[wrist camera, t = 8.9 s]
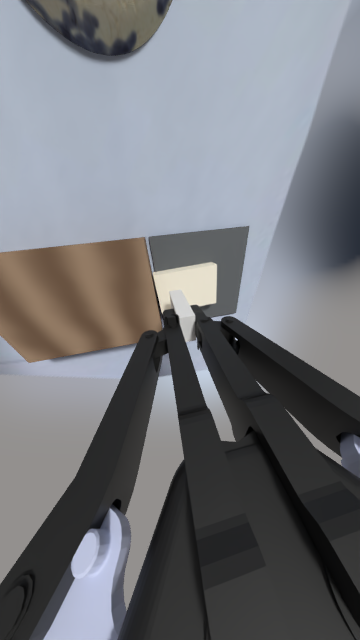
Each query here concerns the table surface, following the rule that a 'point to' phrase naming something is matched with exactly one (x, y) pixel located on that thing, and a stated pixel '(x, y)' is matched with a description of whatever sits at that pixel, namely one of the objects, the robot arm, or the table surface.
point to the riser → (77, 298)
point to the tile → (188, 284)
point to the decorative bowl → (104, 22)
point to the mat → (207, 260)
